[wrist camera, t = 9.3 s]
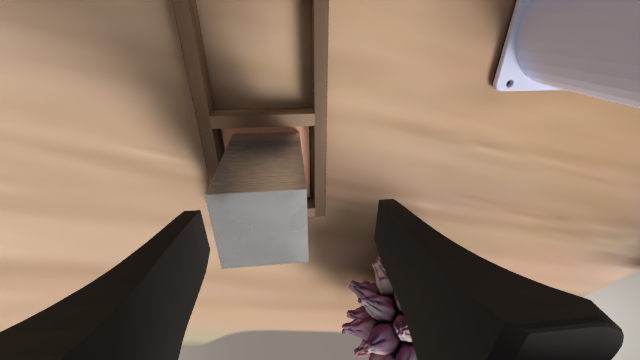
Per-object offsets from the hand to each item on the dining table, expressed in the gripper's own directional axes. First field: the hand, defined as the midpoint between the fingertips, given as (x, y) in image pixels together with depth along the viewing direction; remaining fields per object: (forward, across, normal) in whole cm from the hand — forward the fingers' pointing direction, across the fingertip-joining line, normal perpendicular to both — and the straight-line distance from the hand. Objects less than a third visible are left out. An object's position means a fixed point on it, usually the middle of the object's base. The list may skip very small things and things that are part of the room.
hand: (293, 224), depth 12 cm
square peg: (+10, +2, +2) cm, 10 cm away
